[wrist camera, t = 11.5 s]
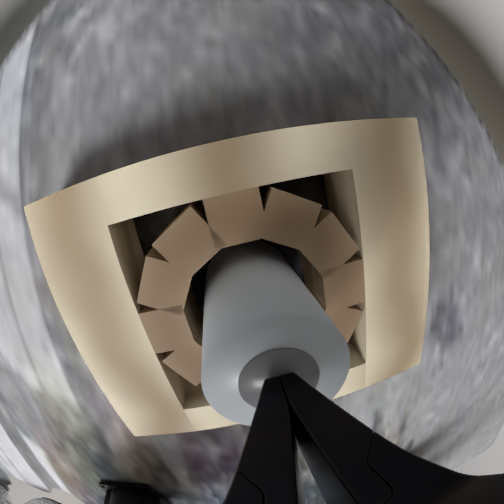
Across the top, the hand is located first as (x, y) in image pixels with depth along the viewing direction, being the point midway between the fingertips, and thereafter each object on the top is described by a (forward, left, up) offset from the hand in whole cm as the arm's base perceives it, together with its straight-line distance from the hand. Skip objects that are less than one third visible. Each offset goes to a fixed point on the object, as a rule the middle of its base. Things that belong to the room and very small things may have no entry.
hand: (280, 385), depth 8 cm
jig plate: (0, 0, -8) cm, 8 cm away
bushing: (0, 0, -8) cm, 8 cm away
